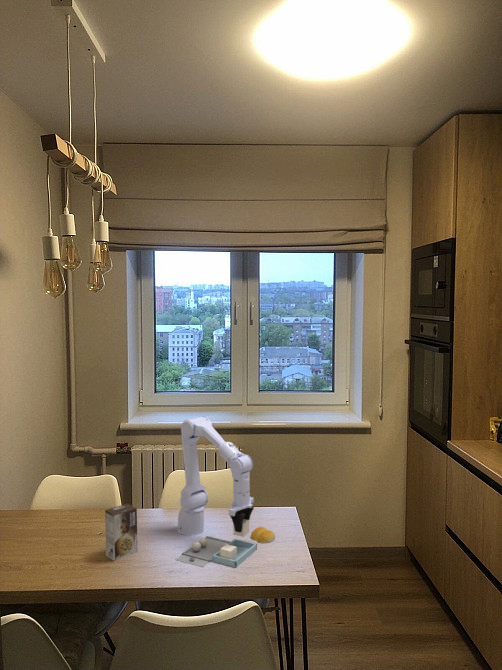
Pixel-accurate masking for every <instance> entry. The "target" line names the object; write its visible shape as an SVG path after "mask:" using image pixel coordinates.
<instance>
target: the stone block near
mask: <svg viewBox="0 0 502 670" xmlns="http://www.w3.org/2000/svg"><path fill="white" fill-rule="evenodd" d="M220 557H223V558H227V559H231V560H236V559H237V547H235V546H231V545H228V544H226V545H225V546H223V547H222V548H221V549H220Z"/></svg>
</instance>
